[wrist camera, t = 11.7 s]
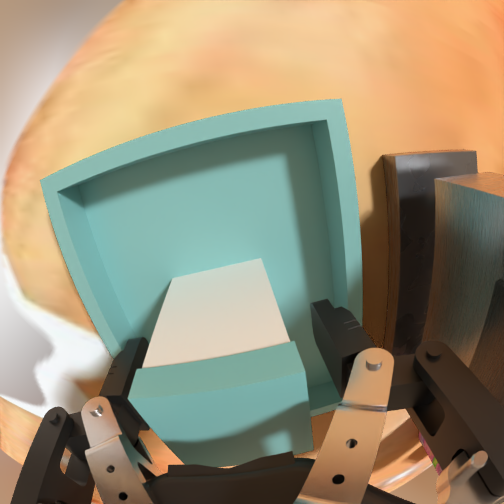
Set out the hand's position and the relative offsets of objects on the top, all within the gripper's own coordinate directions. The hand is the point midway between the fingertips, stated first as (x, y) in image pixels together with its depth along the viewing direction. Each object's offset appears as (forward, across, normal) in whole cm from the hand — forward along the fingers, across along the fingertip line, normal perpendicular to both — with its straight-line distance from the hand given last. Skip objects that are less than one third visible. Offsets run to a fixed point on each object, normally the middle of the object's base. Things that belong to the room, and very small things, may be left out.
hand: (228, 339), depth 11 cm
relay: (+3, 0, 0) cm, 3 cm away
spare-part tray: (+3, 0, 0) cm, 3 cm away
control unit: (+3, -13, +3) cm, 14 cm away
